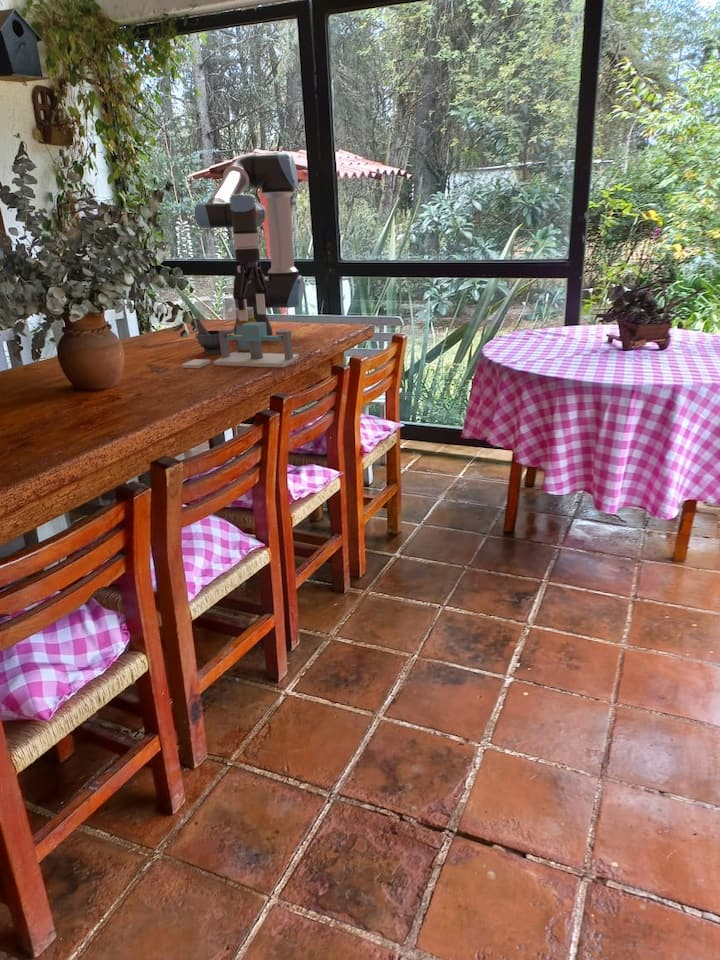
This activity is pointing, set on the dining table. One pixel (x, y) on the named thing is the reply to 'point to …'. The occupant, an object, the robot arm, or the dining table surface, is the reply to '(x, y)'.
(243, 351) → the bottle
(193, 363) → the tile
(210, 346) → the mortar and pestle
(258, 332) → the teal cube with tabs
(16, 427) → the dining table surface
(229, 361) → the white and grey stand
